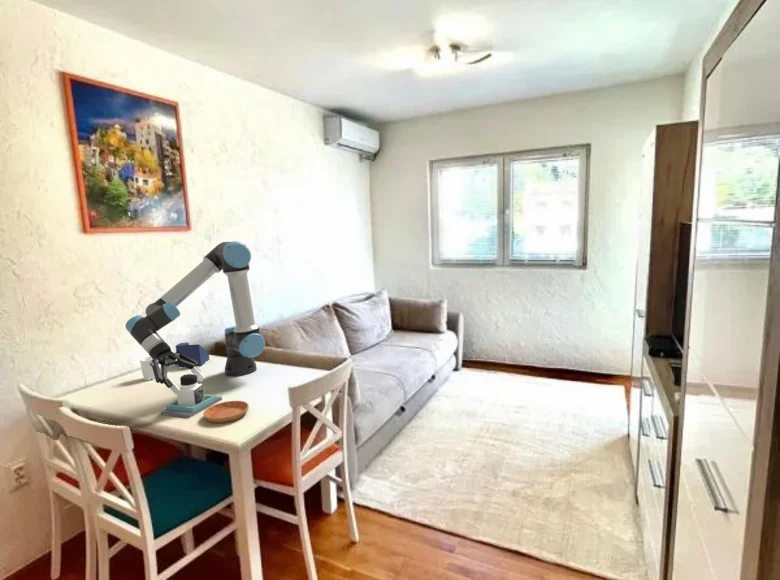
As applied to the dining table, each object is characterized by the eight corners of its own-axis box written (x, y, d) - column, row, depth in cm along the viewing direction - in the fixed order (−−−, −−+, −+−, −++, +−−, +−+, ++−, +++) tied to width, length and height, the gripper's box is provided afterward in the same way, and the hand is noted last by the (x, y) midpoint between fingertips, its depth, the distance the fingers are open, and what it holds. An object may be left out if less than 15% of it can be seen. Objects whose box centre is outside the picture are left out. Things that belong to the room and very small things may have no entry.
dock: (194, 397, 183) (194, 391, 183) (222, 399, 179) (221, 393, 179) (160, 414, 167) (159, 407, 166) (189, 417, 162) (188, 410, 162)
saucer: (217, 429, 151) (216, 421, 151) (196, 418, 162) (195, 411, 161) (257, 413, 163) (256, 406, 163) (235, 404, 174) (234, 397, 173)
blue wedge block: (209, 359, 240) (207, 338, 239) (201, 366, 229) (198, 344, 227) (187, 361, 240) (185, 340, 238) (178, 367, 228) (175, 345, 226)
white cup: (164, 375, 216) (161, 356, 215) (154, 380, 208) (151, 360, 207) (149, 375, 217) (146, 356, 215) (138, 381, 209) (136, 361, 208)
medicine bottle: (196, 407, 169) (192, 377, 167) (178, 407, 169) (174, 378, 168) (204, 400, 176) (201, 371, 174) (187, 400, 176) (184, 372, 175)
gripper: (176, 345, 187) (208, 381, 184) (125, 363, 163) (161, 404, 161) (184, 334, 184) (217, 369, 182) (134, 350, 161) (171, 391, 158)
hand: (191, 385), depth 171 cm, fingers open, 13 cm apart
